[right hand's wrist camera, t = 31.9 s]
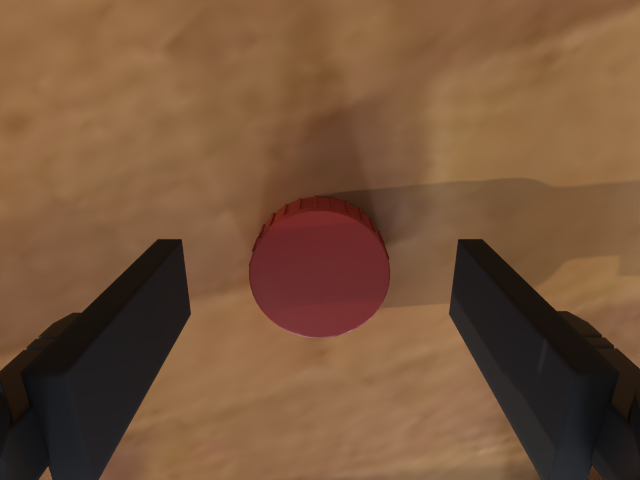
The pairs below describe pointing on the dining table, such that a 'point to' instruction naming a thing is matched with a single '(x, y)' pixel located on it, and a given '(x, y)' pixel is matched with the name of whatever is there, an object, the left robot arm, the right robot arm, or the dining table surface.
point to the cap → (319, 268)
